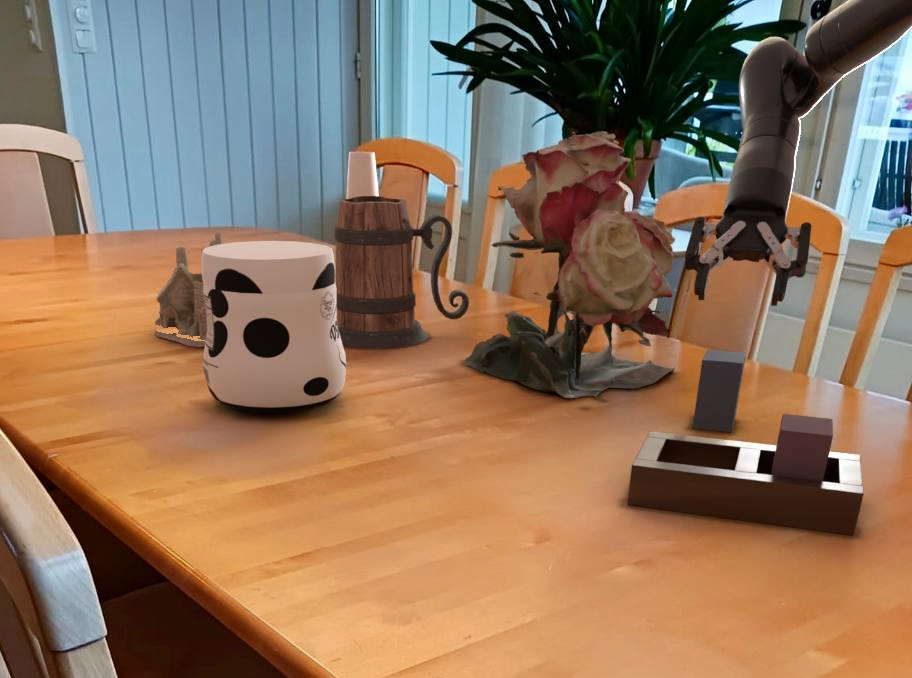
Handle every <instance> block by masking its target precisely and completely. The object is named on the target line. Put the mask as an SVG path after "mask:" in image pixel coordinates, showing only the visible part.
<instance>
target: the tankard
mask: <svg viewBox="0 0 912 678" xmlns="http://www.w3.org/2000/svg"><path fill="white" fill-rule="evenodd" d="M437 222H441V223H442V224H443V226H444V234H443V238H442V241H441V244H440V246H439V247H438V250H437V251H436V253H435V255H434V258H433V261H432V264H431V271H430V287H431V288H430V289H431V294H432V298H433V301H434V305H435V306H436V308H437V311H439V312H440V313H441V314H442V315H443V316H444V317H445V318H447V319H449V320H458V319H461V318H462V317H463V316H465V314H466V313H467V312H468V309H469V306H470V298H469V296H468V295H467V294H466V293H465V292H464V291H462V290H461V289H454V290H452V291H451V292H450V293H449V295H448V302H449V304H450V306H451V307H452V308H458V307H459V308H458V309H457V310H455V311H449V310H446V309H445V307H444V305H443V303H442V299H441V296H440V291H439V290H440V289H439V274H440V273H439V272H440V267H441V264H442V262H443V259H444V257H445V255H446V254H447V251H448V249H449V247H450V245H451V242H452V239H453V227H452V223H451V221H450V220H448V218H447V217H445V216H443V215H441V214H433V215H431V216H427V218H425V220H423V222H422V224H421V226H420V227H419V228H413V226H411V219H410V214H409V208H408V202H407V200H406V199H403V198H390V197H385V196H380V195H379V196H357V197H353V198H349V199H346V198H341V199H339V201H338V209H337V215H336V225H335V226H333V229H334V230H333V239H334V240H335V284H336V294H337V324H338V330H339V334H340V337H341V341H342V344H343V347H350V348H359V349H391V348H392V349H393V348H402V347H409V346H414V345H417V344H421V343H422V342H425V341H426V340H427V339H428V338H429V335H428V334H427V332H425V330H424V329H423V327H422V324H421V323H420V322H419V321H418V320H417V319H416V317H415V307H416V305H417V303H416V301H417V300H416V292H415V291H414V272H413V271H414V270H413V269H414V268H413V240H414V237H419V238H421V241H422V243H423V244H424V245H425V246H426V248H428V249H429V250H433V249H434V246H435V245H434V244H433V241H432V238H433V228H432V226H433V225H434V224H435V223H437ZM457 297H461V305H460V306H459V303H458V302H456V303H454V300H455V299H456V298H457Z"/></svg>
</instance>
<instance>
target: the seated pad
mask: <svg viewBox="0 0 912 678" xmlns="http://www.w3.org/2000/svg"><path fill="white" fill-rule="evenodd" d="M833 420H834V419H833V418H826V417H817V416H809V415H798V414H789V413H783V414H782V416H781V421H780V426H779V431H778V436H777V442H776V451H775V456H774V461H773V466H772V472H771V475H774V476H782V477H790V478H799V479H807V480H815V481H823V479H824V474H825V470H826V465H827V461H828V456H829V452H831V447H832V442H833V438H834V421H833Z"/></svg>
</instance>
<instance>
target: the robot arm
mask: <svg viewBox="0 0 912 678" xmlns="http://www.w3.org/2000/svg"><path fill="white" fill-rule="evenodd" d="M911 28H912V0H847V1H845V2H843V3H842V4H840V5H839V6H837V7H836V8H834V9H833V10H832V11H830V12H829V13H827V14H826V15H824V16H823V17H821V18H820V19H819V20H817V21H816V22H815V23H814V24H813V25H812V26H811V27H810V28H809V30H808V31H807V33H806V35H805V39H804V43H803V52H804V54H803V53H802V52H801V51H800V50H798V49H797V48H796V47H795V46H794V45H793V44H792V43H791V42H789V41H788V40H786V39H785V38H783V37H779V36H769V37H767V38H764V39H763V40H760V41H759V42H758V43H757V44H756V45H754V46H753V48H752V49H751V50H750V51H749V53H748V55H747V57H746V58H745V59H744V62H743V64H742V67H741V70H740V74H739V80H738V99H739V100H738V101H739V110H740V121H741V126H742V131H741V136H740V141H739V144H738V145H739V146H738V149H737V155H736V157H735V160H734V162H733V166H732V168H731V169H732V170H731V173H730V179H729V184H728V187H727V193H726V198H725V203H724V207H723V213H722V216H721V219H720V220H719V221H718V222H716V223H715V222H714V223H713V222H706V219H705V218H704V217H703V216H698V217H696V218H695V219H694V222H693V226H692V229H691V234H690V236H689V240H688V242H687V248H686V250H685V253H684V255H685V258H684V268H685V270H687V271H695V272H696V275H695V279H694V284H693V285H694V286H693V292H694V293H693V294H694V296H698V297H697V299H698V301H705V299H706V295H707V290H708V286H709V285H708V284H709V280H710V273H711V272H712V271H713V270H715V268H717V267H721V266H722V265H723V264H724V263H726V262H727V261H728V260H729V259H732V261H736V262H741V261H749V262H753V263H759V262H760V261H761V260H763V261H764V263H765V264H766V266H767V267H768V269H769V270H771V271H772V272H773V273H774V275H775V280H774V285H773V291H772V296H771V301H770V306H771V307H772V306H773V307H777V306H778V302H779V303H780V302H781V303H782V302H783V301H784V299H785V296H786V291H787V288H788V287H787V286H788V281H789V279H791V278H793V277H796V278H803V277H805V275H806V271H807V265H808V262H809V255H810V254H809V253H810V244H811V234H812V224H811V223H810V222H807V221H806V222H803V223H801V225H800V226H798V227H797V226H796V227H795V226H792V227H791V226H789V227H788V225H787V223H786V220H787V215H788V210H789V206H790V205H789V204H790V199H791V195H792V190H793V189H794V179H795V173H796V156H797V152H798V146H799V141H800V137H801V136H800V135H801V130H802V129H801V118H804V117H805V116H806V115H808V114H809V112H811V110H813V109H814V107H816V105H817V104H818V103H819V102H820V101H821V100H822V99H823V97H824V96H826V94H828V93H829V91H831V89H832V88H833V87H835V86H836V85H837V83H839V82H840V81H841V80H842V78H844V77H845V76H846V75H848V74H850V73H851V72H853V71H854V70H856V69H858V68H859V67H861V66H863V65H864V64H866V63H868V62H870V61H872V60H873V59H874V58H877V57H878V56H879V55H880V54H882V53H884V52H885V51H886V50H888V49H890V48H891V47H892V46H893V45H895V44H896V43H897V42H899V40H901V38H902V37H904V36H905V35H906V34H907V33H908V32H909V30H910V29H911ZM712 236H715V238H716V240H715V241H714V242H713V243H712V245H711V247H710V248H709V249H707V251H705V252H704V253H703V254H701V255H700V250H701V248H702V244H706V242H707V241H708V240H709V239H710V237H712ZM786 240H789V241H790V243H791V246H792V247H793V248H795V249H796V259H795V260H790V259H789V256H787V255H786V253H785V251H784V248H783V246H782V244H783V243H785V241H786Z"/></svg>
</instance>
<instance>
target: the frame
mask: <svg viewBox="0 0 912 678" xmlns="http://www.w3.org/2000/svg"><path fill="white" fill-rule="evenodd" d="M776 446H777V444H776V445H774V444H767V443H759V442H758V443H757V442H749V441H741V440H732V439H722V438H714V437H707V436H706V437H705V436H696V435H688V434H687V435H686V434H678V433H670V432H660V431H653V430H652V431H651V430H649V432H648V433H647V435H646V438H645V440H644V441H643V443H642V446H641V447H640V449H639V451H638V452H637V455H636V457H635V458H634V459H633V462H632V464H631V469H630V477H629V478H630V479H629V485H628V494H627V502H626V503H627V504H626V505H628V506H635V507H641V508H648V509H655V510H663V511H671V512H677V513H685V514H693V515H698V516H699V515H700V516H708V517H716V518H722V519H729V520H730V519H731V520H738V521H745V522H751V523H752V522H753V523H757V524H758V523H760V524H765V525H766V524H767V525H774V526H781V527H790V528H795V529H804V530H812V531H817V532H818V531H819V532H824V533H825V532H826V533H834V534H841V535H847V536H854V534H855V531H856V527H857V522H858V519H859V515H860V511H861V507H862V502H863V498H864V494H865V493H864V484H863V474H862V473H863V472H862V465H861V464H862V463H861V455H860V454H855V453H846V452H837V451H830V452H829V456H828V461H827V465H826V470H825V474H824V479H823V481H815V480H807V479H799V478H790V477H782V476H774V475H771V472H772V466H773V461H774V456H775V451H776Z"/></svg>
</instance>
